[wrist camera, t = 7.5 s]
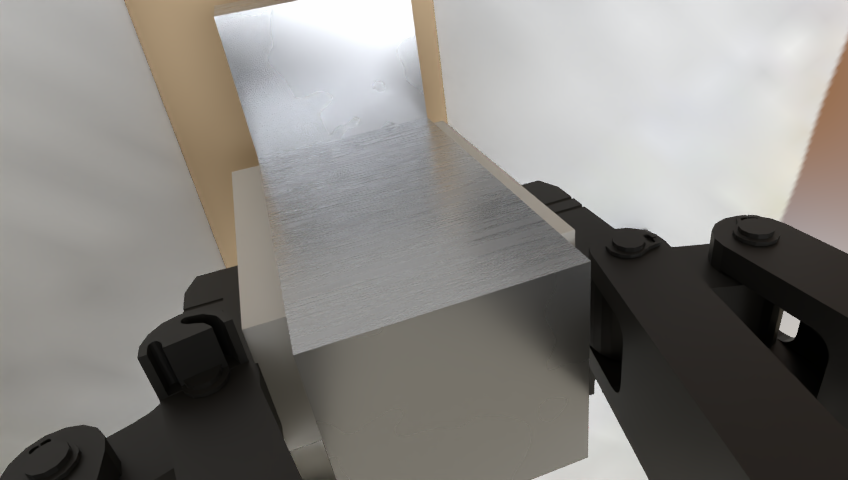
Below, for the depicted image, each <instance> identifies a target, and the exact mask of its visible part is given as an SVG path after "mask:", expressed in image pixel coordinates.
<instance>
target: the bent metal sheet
mask: <svg viewBox="0 0 848 480" xmlns="http://www.w3.org/2000/svg"><path fill="white" fill-rule="evenodd" d="M214 19H215V23H216V26H217V29H218V32H219V35H220V39H221V42H222V45H223V48H224V51H225V54H226V58H227V61H228V64H229V67H230V70H231V74H232V77H233V80H234V83H235V86H236V90H237V93H238V96H239V99H240V102H241V106H242V109H243V112H244V115H245V118H246V122H247V125H248V128H249V131H250V134H251V137H252V141H253V144H254V147H255V150H256V153H257V157H258V161H259V167H260V172H261V178H262V183H263V189H264V195H265V200H266V206H267V211H268V217H269V223H270V228H271V234H272V239H273V245H274V251H275V256H276V262H277V267H278V273H279V279H280V284H281V290H282V296H283V301H284V307H285V312H286V318H287V324H288V329H289V335H290V340H291V346H292V352H293V356H294V359H295V362H296V365H297V368H298V371H299V374H300V377H301V379H302V382H303V385H304V388H305V391H306V394H307V397H308V400H309V403H310V405H311V408H312V411H313V414H314V417H315V420H316V423H317V426H318V429H319V431H320V434H321V437H322V440H323V443H324V446H325V449H326V452H327V455H328V458H329V460H330V463H331V466H332V469H333V472H334V475H335V478H336V480H531V479H534V478H537V477H539V476H542V475H544V474H547V473H549V472H552V471H554V470H557V469H559V468H562V467H565V466H567V465H570V464H572V463H575V462H577V461H580V460H582V459H585V458H587V457H588V416H589V355H590V293H591V261H590V260H589V259H588V258H587V257H586V256H585V255H583V254H582V253H581V252H580V251H579V250H578V249H577V248H575V247H574V246H573V245H572V244H571V243H570V242H569V241H568V240H566V239H565V238H564V237H563V236H562V235H561V234H560V233H558V232H557V231H556V230H555V229H554V228H553V227H552V226H550V225H549V224H548V223H547V222H546V221H545V220H544V219H543V218H541V217H540V216H539V215H538V214H537V213H536V212H535V211H533V210H532V209H531V208H530V207H529V206H528V205H527V204H525V203H524V202H523V201H522V200H521V199H520V198H519V197H517V196H516V195H515V194H514V193H513V192H512V191H511V190H510V189H508V188H507V187H506V186H505V185H504V184H503V183H502V182H500V181H499V180H498V179H497V178H496V177H495V176H494V175H492V174H491V173H490V172H489V171H488V170H487V169H486V168H484V167H483V166H482V165H481V164H480V163H479V162H478V161H477V160H475V159H474V158H473V157H472V156H471V155H470V154H469V153H467V152H466V151H465V150H464V149H463V148H462V147H461V146H459V145H458V144H457V143H456V142H455V141H454V140H453V139H451V138H450V137H449V136H448V135H447V134H446V133H445V132H444V131H442V130H441V129H440V128H439V127H438V126H437V125H436V124H434V123H433V122H432V121H431V120H430V119H429V118H428V117H427V112H426V105H425V98H424V91H423V84H422V77H421V70H420V63H419V56H418V49H417V41H416V34H415V27H414V20H413V13H412V6H411V0H242V1H237V2H231V3H226V4H221V5H215V6H214Z"/></svg>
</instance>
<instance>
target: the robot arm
mask: <svg viewBox="0 0 848 480" xmlns="http://www.w3.org/2000/svg"><path fill="white" fill-rule="evenodd" d="M434 124H436V125H437V126H438V127H439V128H440V129H441V130H442V131H444V132H445V133H446V134H447V135H448V136H449V137H450V138H451V139H453V140H454V141H455V142H456V143H457V144H458V145H459V146H461V147H462V148H463V149H464V150H465V151H466V152H467V153H469V154H470V155H471V156H472V157H473V158H474V159H475V160H477V161H478V162H479V163H480V164H481V165H482V166H483V167H484V168H486V169H487V170H488V171H489V172H490V173H491V174H492V175H494V176H495V177H496V178H497V179H498V180H499V181H500V182H502V183H503V184H504V185H505V186H506V187H507V188H508V189H510V190H511V191H512V192H513V193H514V194H515V195H516V196H517V197H519V198H520V199H521V200H522V201H523V202H524V203H525V204H527V205H528V206H529V207H530V208H531V209H532V210H533V211H535V212H536V213H537V214H538V215H539V216H540V217H541V218H543V219H544V220H545V221H546V222H547V223H548V224H549V225H550V226H552V227H553V228H554V229H555V230H556V231H557V232H558V233H560V234H561V235H562V236H563V237H564V238H565V239H566V240H568V241H569V242H570V243H571V244H572V245H573V246H574V247H575V248H577V249H578V250H579V251H580V252H581V253H582V254H583V255H585V256H586V257H587V258H588V259H589V260H590V261H591V293H590V355H589V395H592V394H594V381H595V379H596V380H597V382H598V384H599V386H600V388H601V389H602V393H604V395H605V397H606V399H607V401H608V403H609V405H610V407H611V408H612V410H613V412H614V414H615V416H616V418H617V420H618V422H619V424H620V426H621V427H622V429H623V431H624V433H625V435H626V437H627V439H628V441H629V443H630V445H631V447H632V448H633V450H634V452H635V454H636V456H637V458H638V460H639V462H640V464H641V466H642V467H643V469H644V471H645V473H646V475H647V477H648V479H649V480H848V254H847V253H845V252H843V251H841V250H839V249H837V248H835V247H833V246H830V245H828V244H826V243H824V242H822V241H820V240H818V239H816V238H814V237H812V236H810V235H808V234H806V233H803V232H801V231H799V230H797V229H795V228H793V227H791V226H789V225H787V224H785V223H782V222H779V221H776V220H773V219H771V218H765V217H760V216H756V215H748V216H746V215H741V216H735V217H730V218H725V219H723V220H721V221H719V222H718V223H716V224H715V225H714V227H713V229H712V233H711V240H710V244H703V245H692V246H682V247H671V246H670V245H669V244H668V243H667V242H666V241H665V240H663V239H662V238H660V237H659V236H657V235H656V234H653V233H650V232H648V231H645V230H640V229H632V228H621V229H614V228H613V227H611V226H610V225H609V224H607V223H606V222H604V221H603V220H602V219H600V218H599V217H598V216H596V215H595V214H594V213H592V212H591V211H590V210H588V209H587V208H586V207H582V204H580V203H579V202H578V201H576V200H575V199H574V198H573V199H571V196H570V195H568V194H567V193H566V192H564V191H563V190H562V189H560V188H559V187H557V186H554V185H551V184H547V183H544V182H541V181H535V182H531V183H528V184H524V185H520V184H519V183H518V182H517V181H515V180H514V179H513V178H512V177H511V176H509V175H508V174H507V173H506V172H505V171H503V170H502V169H501V168H500V167H499V166H497V165H496V164H495V163H494V162H493V161H491V160H490V159H489V158H488V157H487V156H485V155H484V154H483V153H482V152H480V151H479V150H478V149H477V148H476V147H474V146H473V145H472V144H471V143H470V142H468V141H467V140H466V139H465V138H464V137H462V136H461V135H460V134H459V133H458V132H456V131H455V130H454V129H453V128H452V127H450V126H449V125H448V124H447V123H446V122H444V121H440V122H435V123H434ZM232 186H233V201H234V217H235V232H236V248H237V263H238V265H237V266H233V267H230V268H226V269H222V270H219V271H215V272H212V273H208V274H204V275H201V276H197V277H196V278H195V280H194V281H193V282H192V284H191V285H190V287H189V288H188V289H187V291H186V292H185V297H184V308H183V309H184V312H183V314H181V315H178V316H176V317H174V318H172V319H170V320H168V321H166V322H164V323H162V324H161V325H160V326H158V327H157V328H156V329H155V330H153V331H152V332H151V333H150V334H148V336H147V337H146V338H145V340H144V341H143V342H142V344H141V345H140V347H139V352H138V357H137V358H138V360H139V362H140V364H141V366H142V368H143V370H144V372H145V374H146V375H147V377H148V379H149V381H150V383H151V385H152V387H153V389H154V391H155V392H156V394H157V396H158V398H159V400H160V405H158V406H157V407H156V408H155V409H154V410H153V411H151V412H150V413H149V414H147V415H146V416H144V417H143V418H141V419H139V420H138V421H136V422H135V423H133V424H131V425H129V426H127V427H126V428H124V429H122V430H120V431H118V432H116V433H115V434H113V435H111V436H109V437H107V438H106V437H105V436H104V435H103V434H102V432H101V431H100V430H99V429H98V428H96V427H91V426H86V425H80V426H73V427H67V428H64V429H61V430H59V431H56V432H54V433H51V434H49V435H47V436H45V437H43V438H41V439H40V440H38V441H37V442H35V443H34V444H32V445H31V446H29V447H28V448H26V449H25V450H24V451H23V452H22V453H21V454H20V455H19V456H17V457H16V458H15V459H14V460H13V461H12V462H11V463H10V464H9V465H8V467H7V468H6V470H5V471H4V473H3V474H2V476H1V477H0V480H302V479H301V476H300V474H299V472H298V470H297V467H296V465H295V463H294V461H293V458H292V456H291V454H290V452H289V451H292V450H295V449H298V448H301V447H304V446H307V445H309V444H312V443H315V442H318V441H321V440H322V437H321V434H320V431H319V429H318V426H317V423H316V420H315V417H314V414H313V411H312V408H311V405H310V403H309V400H308V397H307V394H306V391H305V388H304V385H303V382H302V379H301V377H300V374H299V371H298V368H297V365H296V362H295V359H294V356H293V352H292V346H291V340H290V335H289V329H288V324H287V318H286V312H285V307H284V301H283V296H282V290H281V284H280V279H279V273H278V267H277V262H276V256H275V251H274V245H273V239H272V234H271V228H270V223H269V217H268V211H267V206H266V200H265V195H264V189H263V183H262V178H261V172H260V167H259V165H258V166H254V167H250V168H246V169H242V170H238V171H234V172H232ZM783 311H786V312H787V313H789V314H791V315H792V316H794V317H796V318H797V319H799V320H800V325H799V328H798V332H797V335H796V337H795V338H793V337H790V336H788V335H786V334H784V333H782V332H781V331H780V330H779V327H780V323H781V319H782V314H783ZM284 439H285V441H284ZM285 442H286V443H285ZM286 444H287V445H286ZM288 449H289V450H288Z"/></svg>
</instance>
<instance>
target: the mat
mask: <svg viewBox="0 0 848 480" xmlns="http://www.w3.org/2000/svg"><path fill="white" fill-rule="evenodd" d="M124 1H125V4H126V7H127V9H128V12H129V14H130V17H131V20H132V22H133V25H134V28H135V30H136V33H137V35H138V38H139V41H140V43H141V46H142V49H143V51H144V54H145V56H146V59H147V62H148V64H149V67H150V70H151V72H152V75H153V77H154V80H155V83H156V85H157V88H158V91H159V93H160V96H161V98H162V101H163V104H164V106H165V109H166V112H167V114H168V117H169V119H170V122H171V125H172V127H173V130H174V133H175V135H176V138H177V140H178V143H179V146H180V148H181V151H182V154H183V156H184V159H185V161H186V164H187V167H188V169H189V172H190V175H191V177H192V180H193V182H194V185H195V188H196V190H197V193H198V196H199V198H200V201H201V203H202V206H203V209H204V211H205V214H206V217H207V219H208V222H209V224H210V227H211V230H212V232H213V235H214V238H215V240H216V243H217V245H218V248H219V251H220V253H221V256H222V259H223V261H224V264H225V266H226V268H230V267H233V266H237V265H238V263H237V248H236V232H235V217H234V201H233V186H232V172H234V171H238V170H242V169H246V168H250V167H254V166H258V165H259V161H258V157H257V153H256V150H255V147H254V144H253V141H252V137H251V134H250V131H249V128H248V125H247V122H246V118H245V115H244V112H243V109H242V106H241V102H240V99H239V96H238V93H237V90H236V86H235V83H234V80H233V77H232V74H231V70H230V67H229V64H228V61H227V58H226V54H225V51H224V48H223V45H222V42H221V39H220V35H219V32H218V29H217V26H216V23H215V19H214V6H215V5H221V4H226V3H231V2H237V1H242V0H124ZM411 6H412V13H413V20H414V27H415V34H416V41H417V49H418V56H419V63H420V70H421V77H422V84H423V91H424V98H425V105H426V112H427V117H428V118H429V119H430V120H431V121H432V122H433V123H435V122H440V121H444V122H446V123H447V114H446V106H445V97H444V89H443V80H442V72H441V63H440V55H439V46H438V38H437V30H436V21H435V13H434V4H433V0H411ZM447 124H448V123H447Z"/></svg>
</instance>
